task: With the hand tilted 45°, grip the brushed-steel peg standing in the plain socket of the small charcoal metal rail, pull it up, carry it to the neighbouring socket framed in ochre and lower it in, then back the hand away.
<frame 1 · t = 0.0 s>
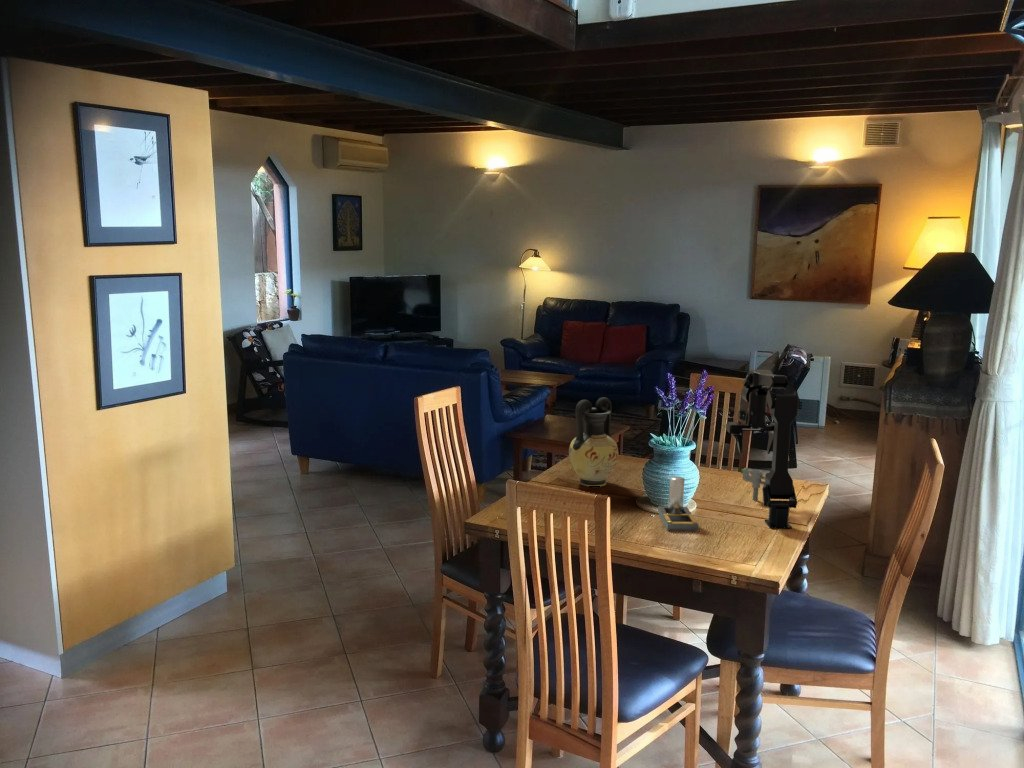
hand: (754, 453, 278), 15 cm above the table, tool pointing down, fingers open, 9 cm apart
mechanical component: (754, 500, 276), on the table
steel peg: (675, 517, 258), resting in socket rail
amphora: (592, 483, 292), on the table
socket rail: (677, 521, 254), on the table
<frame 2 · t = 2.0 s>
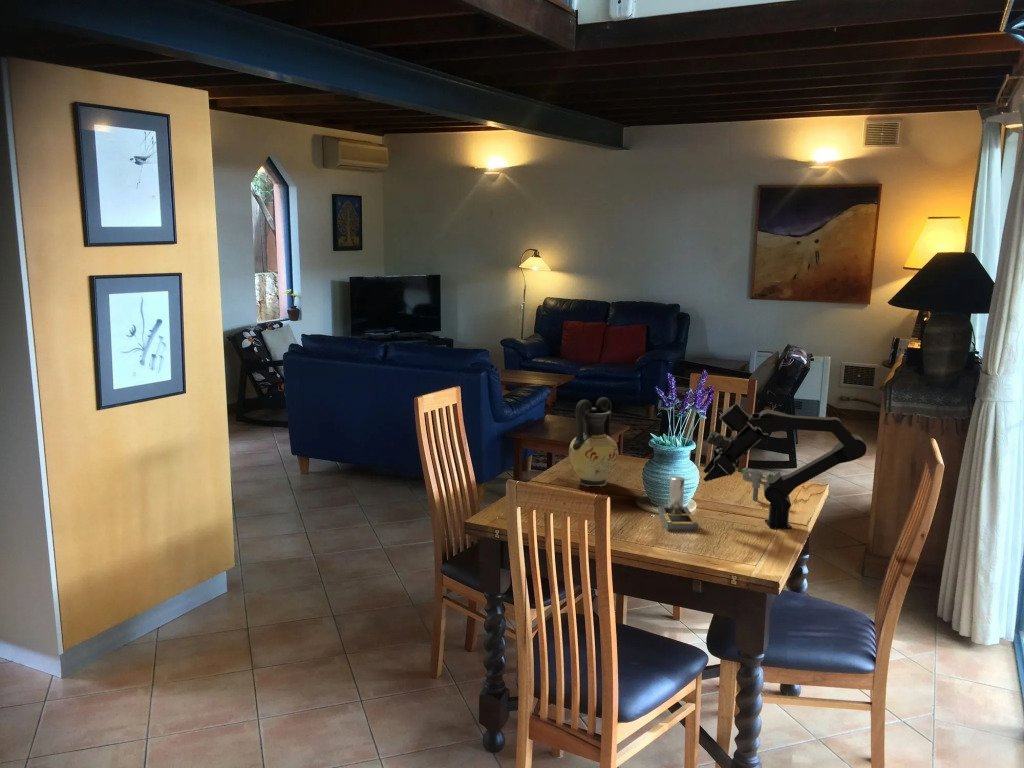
hand: (704, 476, 255), 13 cm above the table, tool tilted 45°, fingers open, 9 cm apart
nothing on the table moved.
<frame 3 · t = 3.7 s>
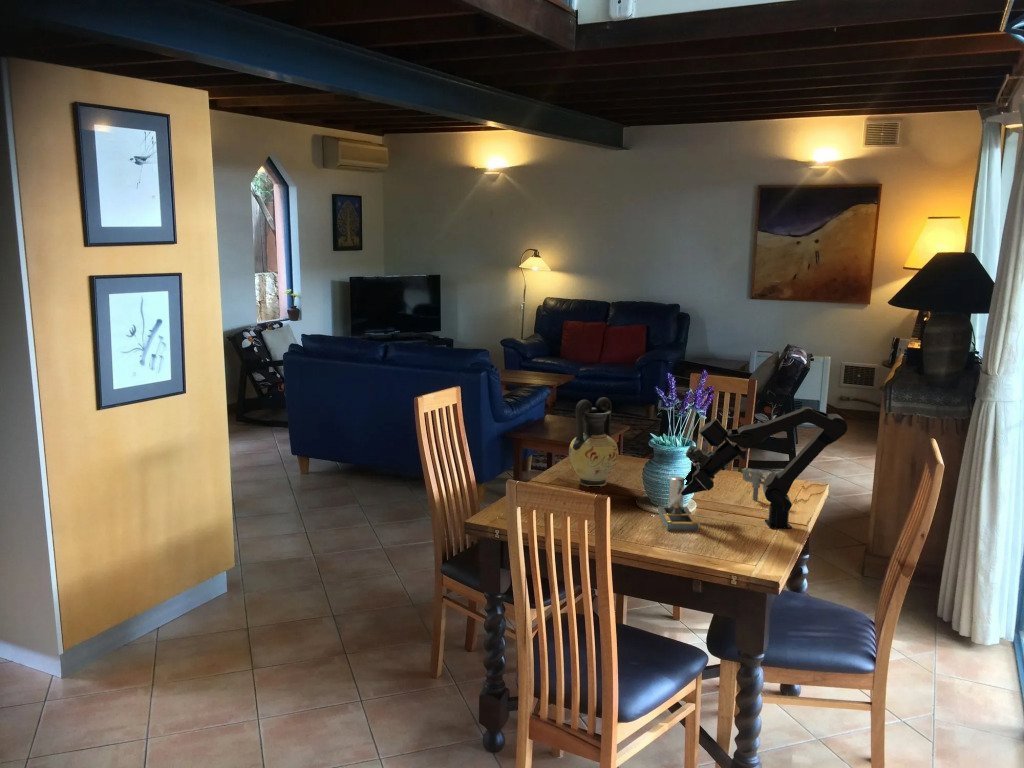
hand: (681, 489, 256), 9 cm above the table, tool tilted 45°, fingers open, 9 cm apart
nothing on the table moved.
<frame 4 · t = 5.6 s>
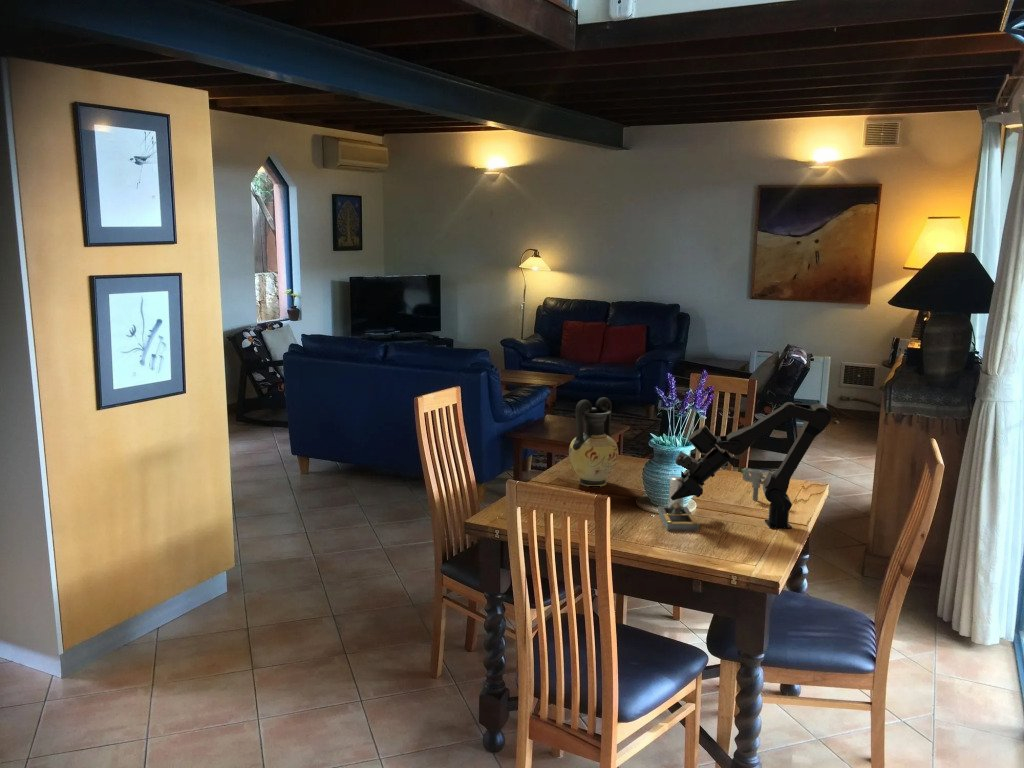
hand: (671, 496, 257), 7 cm above the table, tool tilted 45°, fingers closed on steel peg, 4 cm apart
steel peg: (674, 517, 258), resting in socket rail, touching gripper
everything else where it was.
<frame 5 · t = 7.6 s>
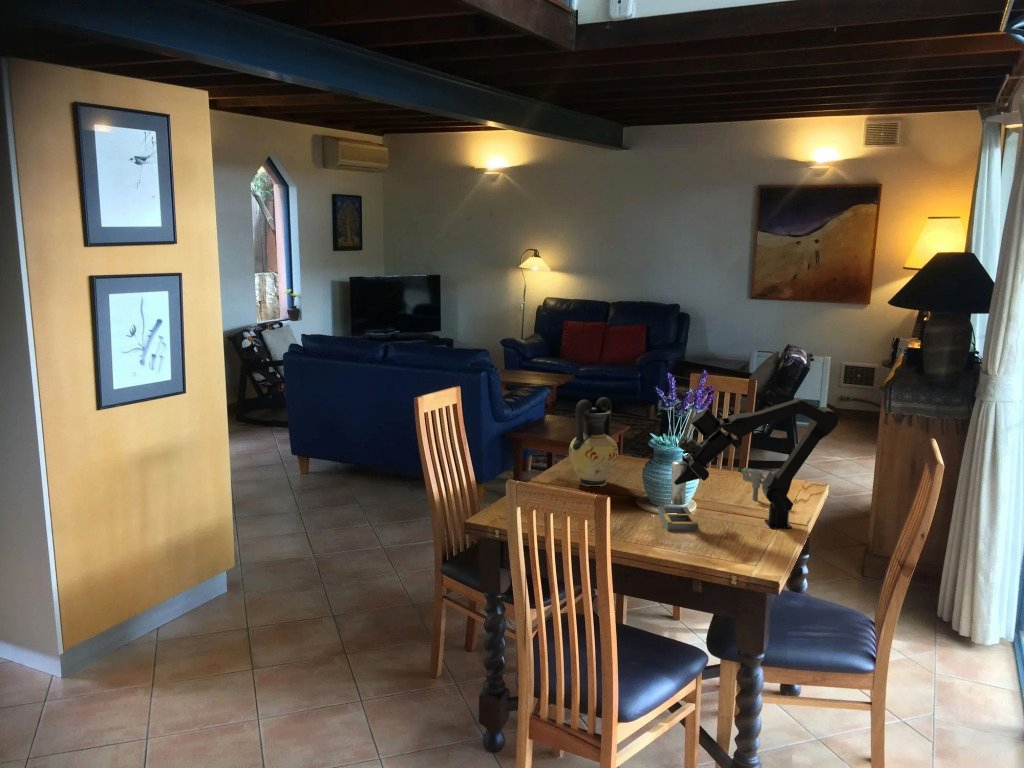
hand: (674, 481, 252), 12 cm above the table, tool tilted 45°, fingers closed on steel peg, 4 cm apart
steel peg: (677, 502, 254), point 6 cm above the table, touching gripper
everything else where it was.
when the fingers open (7 cm above the table, at t = 9.9 s): steel peg stays where it is, resting in socket rail.
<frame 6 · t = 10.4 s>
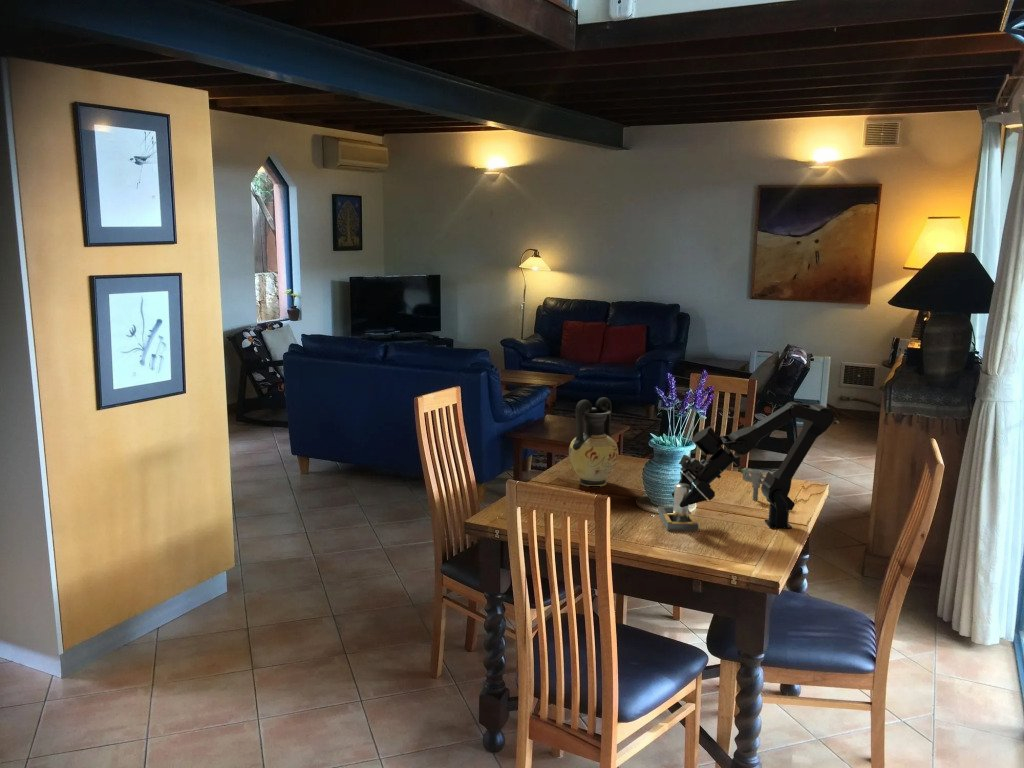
hand: (676, 501, 249), 8 cm above the table, tool tilted 45°, fingers open, 9 cm apart
steel peg: (679, 525, 251), resting in socket rail
everything else where it was.
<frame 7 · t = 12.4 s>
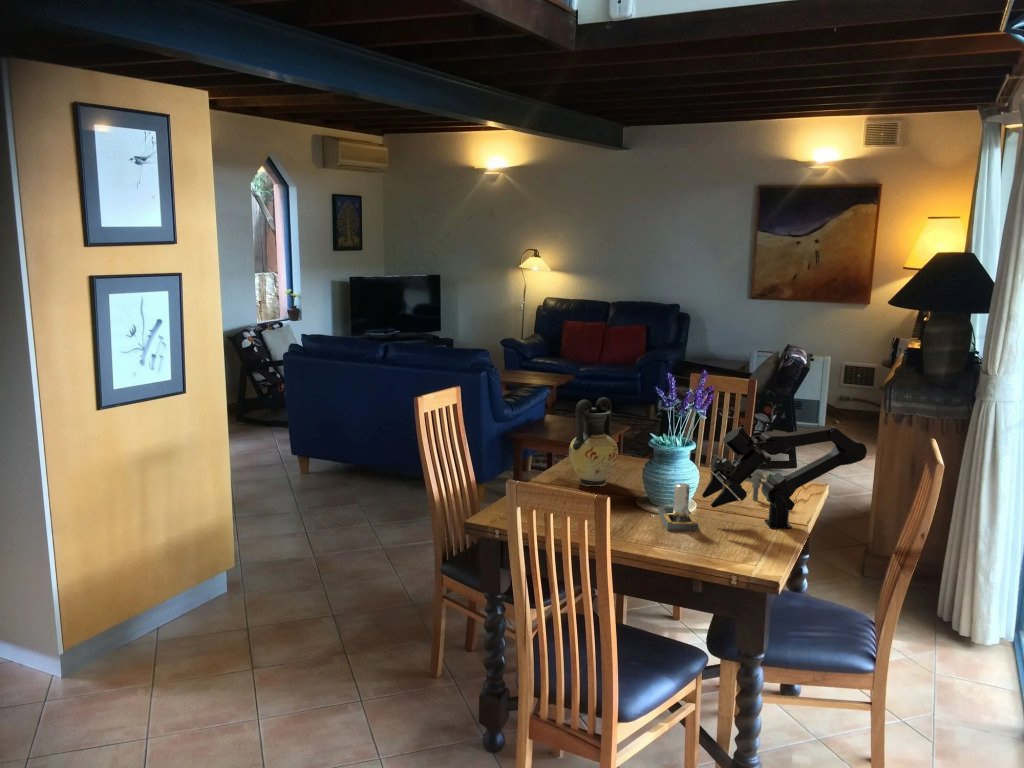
hand: (707, 501, 250), 7 cm above the table, tool tilted 45°, fingers open, 9 cm apart
nothing on the table moved.
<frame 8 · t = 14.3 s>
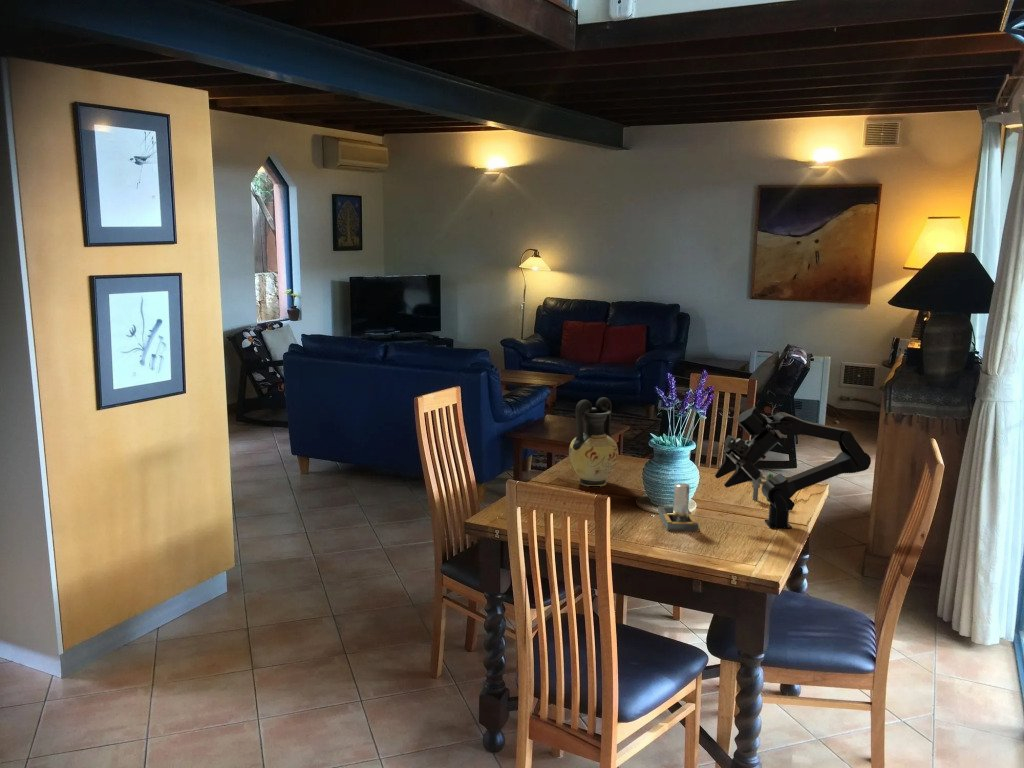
hand: (720, 481, 249), 14 cm above the table, tool tilted 45°, fingers open, 9 cm apart
nothing on the table moved.
at the end: steel peg 0.1 cm from the target spot, resting in socket rail; steel peg tilted 0°; the gripper is holding nothing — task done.
